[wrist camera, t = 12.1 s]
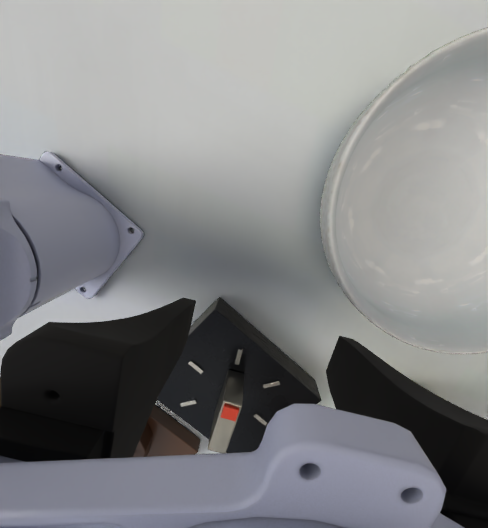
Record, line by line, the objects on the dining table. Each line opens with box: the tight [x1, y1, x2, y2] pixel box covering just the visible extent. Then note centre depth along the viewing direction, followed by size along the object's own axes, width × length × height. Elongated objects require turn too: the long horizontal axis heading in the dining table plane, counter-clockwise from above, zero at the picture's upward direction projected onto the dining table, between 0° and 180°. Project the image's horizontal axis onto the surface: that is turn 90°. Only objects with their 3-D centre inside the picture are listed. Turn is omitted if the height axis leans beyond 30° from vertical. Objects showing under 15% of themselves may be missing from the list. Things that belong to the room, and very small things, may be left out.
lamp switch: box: [133, 405, 200, 457], centre depth 26 cm, size 12×10×3 cm
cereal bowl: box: [320, 27, 488, 354], centre depth 17 cm, size 17×17×7 cm
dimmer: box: [157, 297, 321, 453], centre depth 24 cm, size 12×10×3 cm
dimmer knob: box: [208, 370, 244, 453], centre depth 21 cm, size 5×1×4 cm, turn 164°
